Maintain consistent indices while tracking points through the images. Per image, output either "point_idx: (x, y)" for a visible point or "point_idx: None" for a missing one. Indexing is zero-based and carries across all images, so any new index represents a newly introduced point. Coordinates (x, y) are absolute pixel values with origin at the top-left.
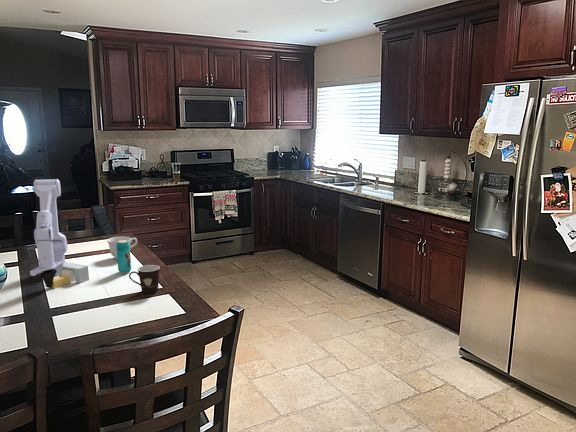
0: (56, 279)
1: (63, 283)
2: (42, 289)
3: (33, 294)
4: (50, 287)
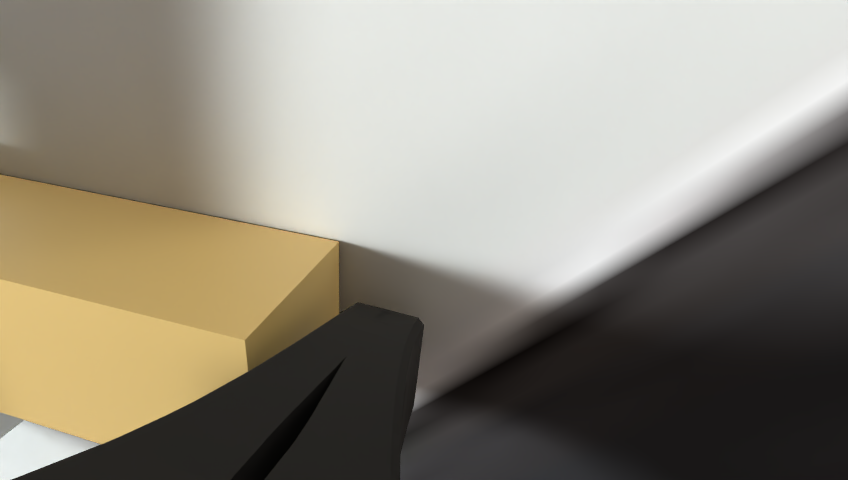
0: (101, 370)
1: (89, 209)
2: (460, 433)
3: (788, 462)
4: None
